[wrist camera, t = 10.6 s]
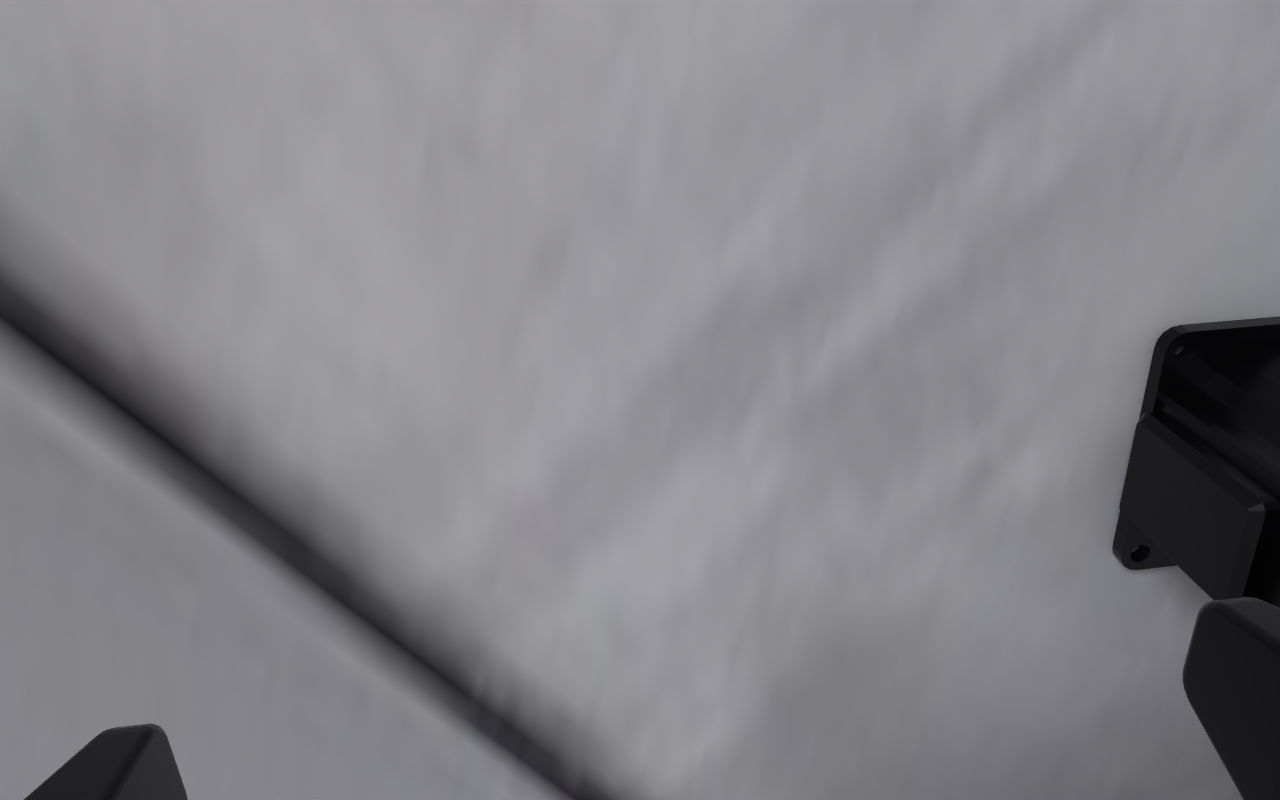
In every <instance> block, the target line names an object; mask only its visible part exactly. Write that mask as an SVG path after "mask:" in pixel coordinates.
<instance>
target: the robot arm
mask: <svg viewBox="0 0 1280 800" xmlns="http://www.w3.org/2000/svg"><path fill="white" fill-rule="evenodd" d="M1183 343H1186V345H1185V347H1184V349H1183V350H1182V351H1181V352H1180V353H1179V354H1177V355H1175V352H1176V350H1177V348H1178V347H1179V346H1180V345H1181V344H1183ZM1137 546H1139V548H1138V549H1137V550H1135V551H1134V552H1132V551H1133V549H1135V548H1136V547H1137ZM1113 554H1114V555H1115V557H1116V558H1117V559H1118V560H1119V561H1120V562H1121V563H1122V564H1123V566H1124V567H1126V568H1128V569H1132V570H1139V569H1148V568H1157V567H1166V566H1175V565H1178V566H1179V567H1180V568H1181V569H1182V570H1183V571H1184V572H1185V573H1186V574H1187V575H1188V576H1189V577H1190V578H1191V579H1192V580H1193V581H1194V582H1195V583H1196V584H1197V585H1198V586H1200V587H1201V588H1202V589H1203V590H1204V591H1205V592H1206V593H1207V594H1208V595H1209V596H1210V597H1211V598H1212V599H1213V600H1214V601H1210V602H1208V603H1206V604H1205V605H1204V606H1203V607H1202V608H1201V609H1200V611H1199V613H1198V616H1197V619H1196V623H1195V627H1194V630H1193V634H1192V638H1191V642H1190V645H1189V649H1188V653H1187V657H1186V660H1185V664H1184V668H1183V684H1184V689H1185V692H1186V695H1187V698H1188V700H1189V702H1190V704H1191V706H1192V708H1193V709H1194V711H1195V713H1196V715H1197V717H1198V718H1199V720H1200V722H1201V724H1202V726H1203V727H1204V729H1205V731H1206V733H1207V735H1208V736H1209V738H1210V740H1211V742H1212V744H1213V746H1214V747H1215V749H1216V751H1217V753H1218V755H1219V756H1220V758H1221V760H1222V762H1223V764H1224V765H1225V767H1226V769H1227V771H1228V773H1229V774H1230V776H1231V778H1232V780H1233V782H1234V783H1235V785H1236V787H1237V789H1238V791H1239V792H1240V794H1241V796H1242V798H1243V800H1280V317H1269V318H1258V319H1246V320H1234V321H1223V322H1211V323H1200V324H1188V325H1179V326H1175V327H1171V328H1170V329H1168V330H1167V331H1165V332H1164V333H1163V334H1162V335H1161V336H1160V337H1159V339H1158V340H1157V342H1156V345H1155V348H1154V352H1153V357H1152V362H1151V367H1150V371H1149V376H1148V381H1147V386H1146V390H1145V395H1144V400H1143V405H1142V409H1141V414H1140V419H1139V421H1138V423H1137V426H1136V431H1135V436H1134V440H1133V445H1132V450H1131V455H1130V459H1129V464H1128V469H1127V474H1126V479H1125V483H1124V488H1123V493H1122V498H1121V502H1120V514H1119V519H1118V523H1117V528H1116V533H1115V538H1114V542H1113ZM24 800H187V795H186V791H185V788H184V785H183V782H182V779H181V776H180V773H179V770H178V767H177V764H176V761H175V758H174V755H173V753H172V750H171V747H170V744H169V741H168V738H167V736H166V734H165V732H164V730H163V729H162V728H161V727H160V726H158V725H155V724H143V725H134V726H125V727H117V728H111V729H108V730H105V731H103V732H102V733H100V734H99V735H98V736H96V737H95V738H94V739H93V740H91V741H90V742H89V743H88V744H87V745H86V746H85V747H83V748H82V749H81V750H80V751H79V752H78V753H77V754H75V755H74V756H73V757H72V758H71V759H70V760H69V761H67V762H66V763H65V764H64V765H63V766H62V767H61V768H59V769H58V770H57V771H56V772H55V773H54V774H53V775H51V776H50V777H49V778H48V779H47V780H46V781H45V782H43V783H42V784H41V785H40V786H39V787H38V788H37V789H35V790H34V791H33V792H32V793H31V794H30V795H29V796H27V797H26V798H25V799H24Z"/></svg>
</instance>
